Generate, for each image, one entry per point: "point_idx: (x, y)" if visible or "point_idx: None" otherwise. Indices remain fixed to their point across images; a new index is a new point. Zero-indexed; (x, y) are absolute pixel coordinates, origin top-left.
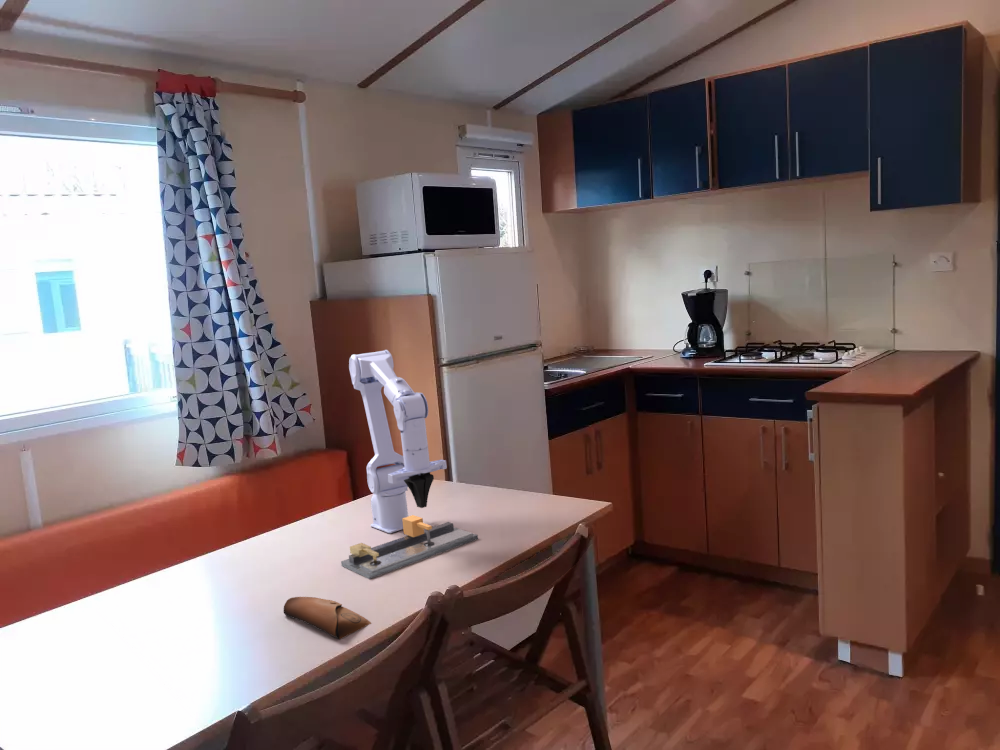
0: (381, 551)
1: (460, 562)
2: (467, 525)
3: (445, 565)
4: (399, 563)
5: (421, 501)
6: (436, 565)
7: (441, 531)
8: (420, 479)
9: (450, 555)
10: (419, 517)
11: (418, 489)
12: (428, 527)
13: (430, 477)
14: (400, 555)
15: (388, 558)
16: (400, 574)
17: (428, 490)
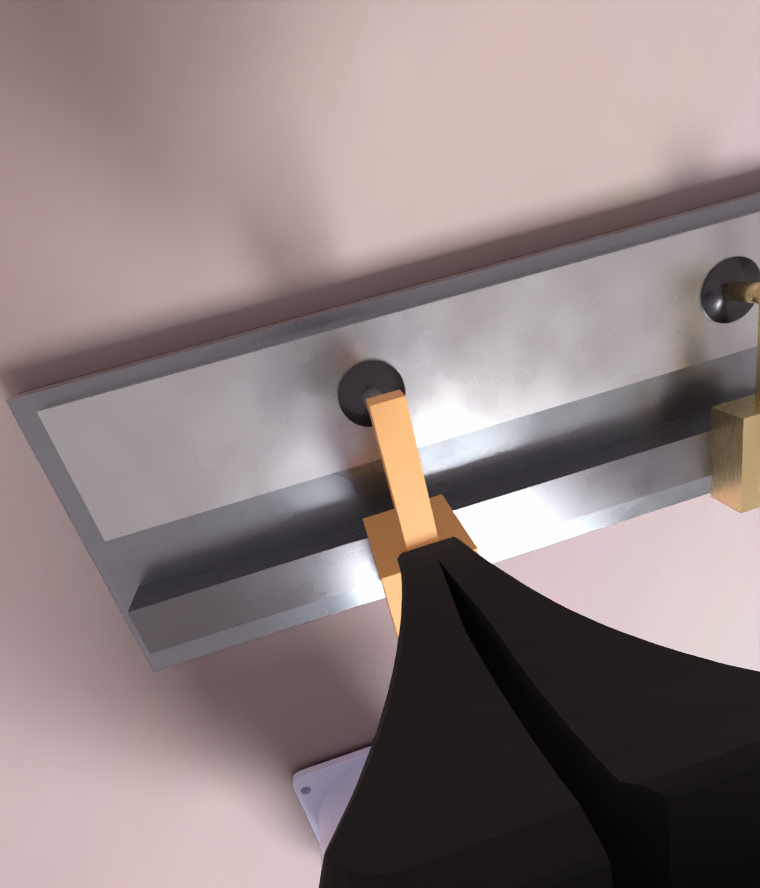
0: (627, 445)
1: (266, 27)
2: (29, 653)
3: (374, 55)
4: (613, 235)
5: (488, 563)
6: (421, 105)
7: (227, 566)
8: (712, 836)
9: (282, 222)
10: (393, 606)
11: (635, 642)
12: (399, 396)
13: (449, 881)
14: (581, 316)
15: (648, 316)
16: (641, 124)
17: (410, 667)
